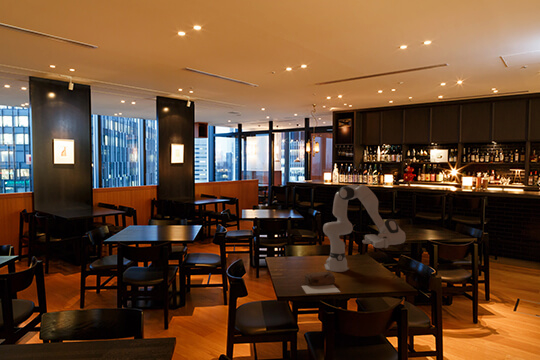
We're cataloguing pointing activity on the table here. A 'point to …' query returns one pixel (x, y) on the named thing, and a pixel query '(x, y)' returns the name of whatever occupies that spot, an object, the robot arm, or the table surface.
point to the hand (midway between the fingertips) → (363, 241)
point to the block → (319, 278)
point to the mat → (320, 289)
